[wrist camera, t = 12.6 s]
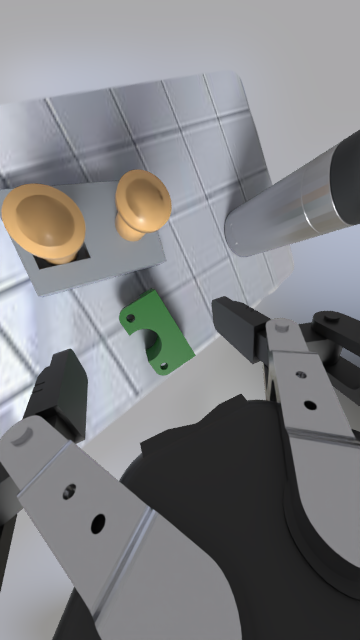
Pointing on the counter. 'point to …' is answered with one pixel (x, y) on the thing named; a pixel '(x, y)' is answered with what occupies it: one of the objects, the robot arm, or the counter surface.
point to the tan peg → (44, 222)
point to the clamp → (169, 336)
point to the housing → (106, 232)
